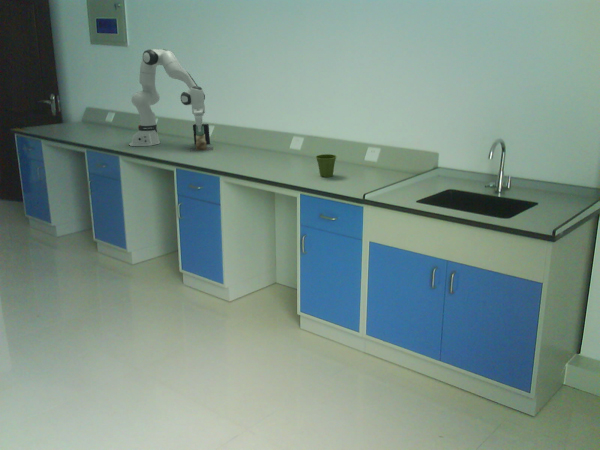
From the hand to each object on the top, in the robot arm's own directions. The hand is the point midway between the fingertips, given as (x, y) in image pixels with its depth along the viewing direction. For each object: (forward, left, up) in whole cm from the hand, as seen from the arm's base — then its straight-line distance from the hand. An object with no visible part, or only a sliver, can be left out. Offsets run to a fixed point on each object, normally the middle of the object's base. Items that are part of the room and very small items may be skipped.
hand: (200, 130), depth 420 cm
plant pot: (+73, -96, -14) cm, 121 cm away
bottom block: (0, 0, -13) cm, 13 cm away
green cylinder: (0, 0, -3) cm, 3 cm away
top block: (0, 0, -8) cm, 8 cm away
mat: (0, 0, -14) cm, 14 cm away
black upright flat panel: (0, +20, -14) cm, 24 cm away
